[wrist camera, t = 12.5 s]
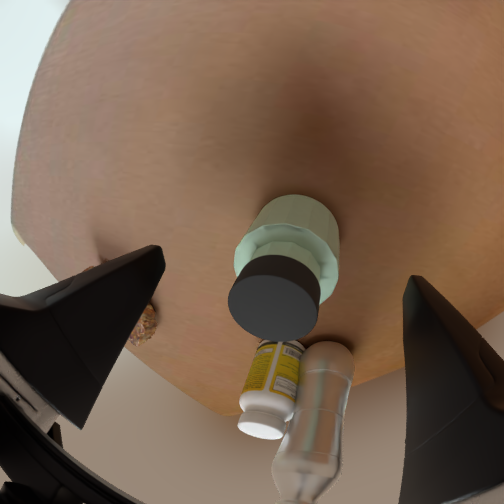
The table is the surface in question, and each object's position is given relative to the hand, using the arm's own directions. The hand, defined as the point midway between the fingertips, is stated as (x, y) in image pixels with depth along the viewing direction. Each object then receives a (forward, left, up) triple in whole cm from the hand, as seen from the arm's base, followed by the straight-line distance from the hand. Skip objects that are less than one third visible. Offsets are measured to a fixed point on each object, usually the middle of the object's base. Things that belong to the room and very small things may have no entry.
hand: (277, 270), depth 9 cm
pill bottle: (-17, +13, -13) cm, 25 cm away
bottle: (-4, +4, -13) cm, 14 cm away
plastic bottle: (-19, +8, -13) cm, 24 cm away
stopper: (-4, +4, -8) cm, 10 cm away
